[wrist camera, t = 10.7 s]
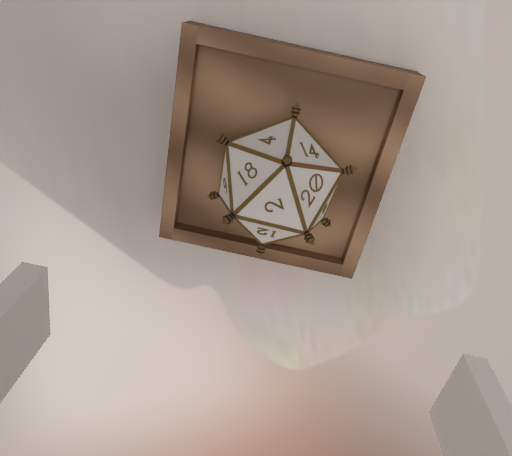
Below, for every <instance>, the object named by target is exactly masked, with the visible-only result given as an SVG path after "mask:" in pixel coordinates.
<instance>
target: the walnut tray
mask: <svg viewBox="0 0 512 456" xmlns="http://www.w3.org/2000/svg"><path fill="white" fill-rule="evenodd" d="M425 78H426V77H425V76H423V75H422V74H420V73H418V72H415V71H411V70H406V69H402V68H397V67H393V66H388V65H384V64H380V63H375V62H371V61H366V60H362V59H357V58H353V57H348V56H344V55H339V54H335V53H331V52H326V51H322V50H317V49H313V48H308V47H304V46H299V45H295V44H290V43H286V42H281V41H277V40H273V39H268V38H264V37H259V36H255V35H250V34H246V33H241V32H237V31H232V30H228V29H223V28H219V27H215V26H210V25H206V24H201V23H197V22H192V21H187V22H182V28H181V37H180V47H179V56H178V65H177V75H176V84H175V94H174V103H173V112H172V122H171V131H170V140H169V150H168V159H167V169H166V178H165V187H164V197H163V206H162V215H161V225H160V234H159V237H163V238H167V239H172V240H176V241H181V242H186V243H190V244H195V245H200V246H204V247H209V248H213V249H218V250H223V251H227V252H232V253H237V254H241V255H246V256H250V257H255V258H260V259H264V260H269V261H273V262H278V263H283V264H287V265H292V266H297V267H301V268H306V269H310V270H315V271H320V272H324V273H329V274H334V275H338V276H343V277H347V278H352V277H353V274H354V271H355V269H356V266H357V263H358V260H359V258H360V255H361V252H362V250H363V247H364V244H365V241H366V239H367V236H368V233H369V231H370V228H371V225H372V222H373V220H374V217H375V214H376V212H377V209H378V206H379V203H380V201H381V198H382V195H383V193H384V190H385V187H386V184H387V182H388V179H389V176H390V173H391V171H392V168H393V165H394V163H395V160H396V157H397V154H398V152H399V149H400V146H401V144H402V141H403V138H404V135H405V133H406V130H407V127H408V125H409V122H410V119H411V116H412V114H413V111H414V108H415V106H416V103H417V100H418V97H419V95H420V92H421V89H422V86H423V84H424V81H425ZM297 102H298V103H299V107H300V109H301V110H300V112H299V113H300V114H298V116H297V119H298V120H299V121H300V122H301V123H302V125H303V126H304V127H305V128H306V129H307V130H308V131H309V132H310V133H311V134H312V136H313V137H314V138H315V139H316V140H317V141H318V142H319V143H320V144H321V145H322V147H323V148H324V149H325V150H326V151H327V152H328V153H329V154H330V155H331V156H332V158H333V159H334V160H335V161H336V162H337V163H338V164H339V165H340V166H341V167H342V168H346V166H350V165H352V166H354V167H357V168H358V169H357V170H356V171H355V172H354V173H353V175H352V174H349V175H348V174H343V176H342V178H341V180H340V182H339V185H338V187H337V189H336V192H335V194H334V196H333V198H332V201H331V203H330V205H329V208H328V210H327V212H326V214H325V217H324V218H328V220H330V224H331V227H325V226H324V225H323V224H322V222H320V223H319V224H318V225H317V226H315V227H314V228H313V229H312V230H311V231H310V232H309V233H311V234H312V235H313V237H314V238H315V240H314V245H311V244H309V243H306V240H304V238H305V236H304V235H303V236H299V237H295V238H290V239H286V240H282V241H278V242H274V243H270V244H266V245H265V246H264V248H265V250H264V252H265V253H263V254H262V255H261V256H258V253H257V251H256V250H257V247H258V246H259V242H257V241H256V240H255V239H254V238H253V237H252V236H251V235H250V234H249V233H248V232H247V231H246V230H245V229H244V228H243V227H242V226H241V225H240V224H239V223H238V222H237V221H236V220H234V219H233V222H230V224H229V225H228V224H222V220H223V217H224V216H226V215H227V214H230V213H229V212H228V210H227V209H226V207H225V205H224V204H223V202H222V201H221V199H220V198H219V197H218V198H217V199H213V200H211V199H210V198H208V197H207V196H208V195H209V194H210V193H211V191H212V192H214V191H215V192H218V190H219V184H220V177H221V170H222V164H223V157H224V151H225V145H224V144H220V142H217V139H216V136H215V133H216V134H223V136H225V137H226V139H227V140H228V141H229V140H232V139H235V138H237V137H240V136H242V135H245V134H248V133H250V132H253V131H255V130H258V129H261V128H263V127H266V126H268V125H271V124H274V123H276V122H279V121H282V120H284V119H287V118H289V117H291V116H292V112H291V111H292V107H293V106H294V105H295V104H296V103H297Z"/></svg>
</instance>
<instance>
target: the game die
mask: <svg viewBox="0 0 512 456" xmlns="http://www.w3.org/2000/svg"><path fill="white" fill-rule="evenodd" d="M300 110H301V109H300V107H299V103H298V102H297V103H296V104H295V105H294V106H293V107H292V111H291V112H292V116H291V117H289V118H287V119H284V120H282V121H279V122H276V123H274V124H271V125H268V126H266V127H263V128H261V129H258V130H255V131H253V132H250V133H248V134H245V135H242V136H240V137H237V138H235V139H232V140H229V141H228V140H227V139H226V137H225V136H223V134H216V133H215V136H216V139H217V142H220V144H224V145H225V151H224V157H223V164H222V170H221V177H220V184H219V190H218V192H215V191H214V192H212V191H211V193H210V194H209V195H208V196H207V197H208V198H210V199H211V200H213V199H217V198H218V197H219V198H220V199H221V201H222V202H223V204H224V205H225V207H226V209H227V210H228V212H229V213H230V214H227V215H226V216H224V217H223V220H222V224H228V225H229V224H230V222H233V219H234V220H236V221H237V222H238V223H239V224H240V225H241V226H242V227H243V228H244V229H245V230H246V231H247V232H248V233H249V234H250V235H251V236H252V237H253V238H254V239H255V240H256V241H257V242H259V246H258V247H257V250H256V251H257V253H258V256H261V255H262V254H263V253H265V252H264V250H265V248H264V246H265V245H266V244H270V243H274V242H278V241H282V240H286V239H290V238H295V237H299V236H303V235H304V236H305V238H304V240H306V243H309V244H311V245H314V240H315V238H314V237H313V235H312V234H311V233H309V232H310V231H311V230H312V229H313V228H314V227H315V226H317V225H318V224H319V223H320V222H322V224H323V225H324V226H325V227H331V224H330V220H328V218H324V217H325V214H326V212H327V210H328V208H329V205H330V203H331V201H332V198H333V196H334V194H335V192H336V189H337V187H338V185H339V182H340V180H341V178H342V176H343V174H348V175H349V174H352V175H353V173H354V172H355V171H356V170H357V169H358V168H357V167H354V166H352V165H350V166H346V168H342V167H341V166H340V165H339V164H338V163H337V162H336V161H335V160H334V159H333V158H332V156H331V155H330V154H329V153H328V152H327V151H326V150H325V149H324V148H323V147H322V145H321V144H320V143H319V142H318V141H317V140H316V139H315V138H314V137H313V136H312V134H311V133H310V132H309V131H308V130H307V129H306V128H305V127H304V126H303V125H302V123H301V122H300V121H299V120H298V119H297V116H298V114H300V113H299V112H300Z"/></svg>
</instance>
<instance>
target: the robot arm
mask: <svg viewBox="0 0 512 456" xmlns="http://www.w3.org/2000/svg"><path fill="white" fill-rule="evenodd" d="M48 297H49V295H48V273H47V267H44V266H39V265H34V264H29V263H24V262H22V263H21V264H20V265H19V266H18V267H17V268H16V269H15V270H14V271H13V272H12V273H11V274H10V275H9V276H8V277H7V278H6V279H5V280H4V281H3V282H2V283H1V284H0V403H1V401H2V400H3V398H4V397H5V396H6V395H7V393H8V392H9V390H10V389H11V388H12V386H13V385H14V384H15V382H16V381H17V379H18V378H19V377H20V375H21V374H22V372H23V371H24V369H25V368H26V367H27V366H28V364H29V363H30V361H31V360H32V359H33V357H34V356H35V355H36V353H37V352H38V350H39V349H40V348H41V346H42V345H43V343H44V342H45V341H46V339H47V338H48V337H49V335H50V320H49V298H48ZM430 416H431V419H432V422H433V425H434V428H435V431H436V434H437V438H438V441H439V444H440V447H441V450H442V453H443V456H512V406H511V404H510V402H509V400H508V398H507V396H506V394H505V392H504V391H503V389H502V387H501V385H500V383H499V381H498V379H497V377H496V375H495V373H494V372H493V370H492V368H491V366H490V364H489V362H488V360H487V359H485V358H480V357H475V356H470V355H466V354H463V355H462V357H461V358H460V360H459V362H458V364H457V365H456V367H455V369H454V370H453V372H452V374H451V376H450V377H449V379H448V381H447V382H446V384H445V386H444V388H443V389H442V391H441V393H440V394H439V396H438V398H437V399H436V401H435V403H434V405H433V406H432V408H431V410H430Z"/></svg>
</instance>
